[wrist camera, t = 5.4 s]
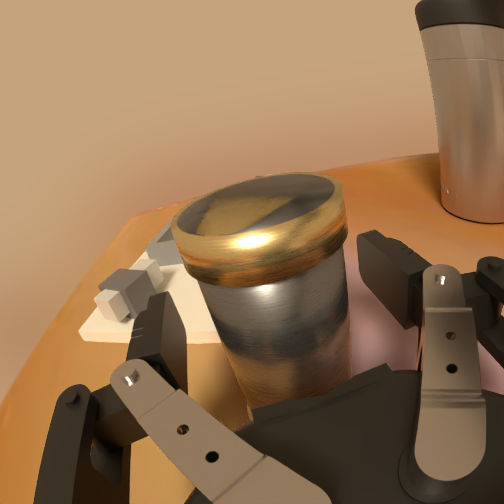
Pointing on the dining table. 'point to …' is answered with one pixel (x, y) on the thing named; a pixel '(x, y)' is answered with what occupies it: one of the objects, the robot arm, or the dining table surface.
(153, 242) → the stand
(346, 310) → the cylinder
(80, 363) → the dining table surface
